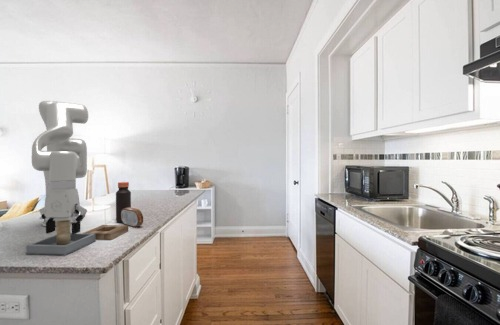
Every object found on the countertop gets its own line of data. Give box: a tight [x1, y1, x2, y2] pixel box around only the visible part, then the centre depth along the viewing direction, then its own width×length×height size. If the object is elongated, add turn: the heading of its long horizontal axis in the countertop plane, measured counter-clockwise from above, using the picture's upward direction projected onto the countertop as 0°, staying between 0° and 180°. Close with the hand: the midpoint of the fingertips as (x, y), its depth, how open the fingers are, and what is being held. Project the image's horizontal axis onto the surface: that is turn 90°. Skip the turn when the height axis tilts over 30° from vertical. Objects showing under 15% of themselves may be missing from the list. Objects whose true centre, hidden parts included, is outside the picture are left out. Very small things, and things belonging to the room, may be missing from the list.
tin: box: [121, 207, 144, 228], centre depth 117 cm, size 15×3×8 cm, turn 58°
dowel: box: [55, 220, 71, 245], centre depth 88 cm, size 4×4×9 cm
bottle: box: [115, 181, 132, 224], centre depth 125 cm, size 7×7×20 cm
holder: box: [83, 224, 129, 241], centre depth 103 cm, size 12×12×2 cm
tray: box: [25, 232, 97, 256], centre depth 88 cm, size 14×14×3 cm
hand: (63, 232), depth 88 cm, fingers open, 9 cm apart
